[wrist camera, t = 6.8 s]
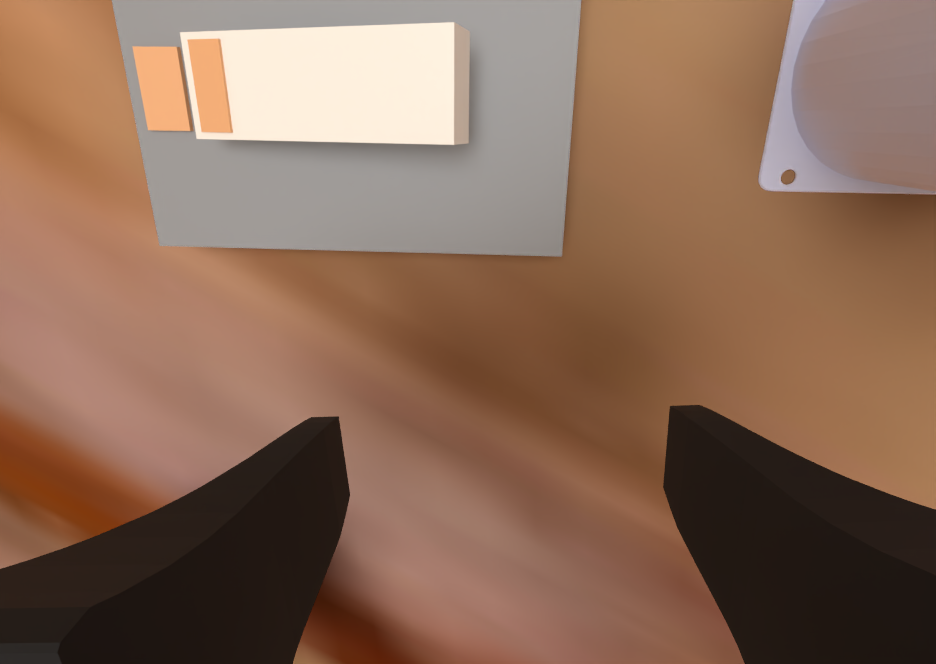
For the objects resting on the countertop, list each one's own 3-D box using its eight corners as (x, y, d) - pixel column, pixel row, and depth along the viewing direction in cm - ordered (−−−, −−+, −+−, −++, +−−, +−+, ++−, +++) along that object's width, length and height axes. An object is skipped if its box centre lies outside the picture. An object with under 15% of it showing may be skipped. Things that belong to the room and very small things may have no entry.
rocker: (469, 31, 14) (453, 21, 13) (468, 143, 15) (452, 144, 14) (214, 39, 16) (176, 31, 15) (228, 138, 17) (194, 139, 16)
